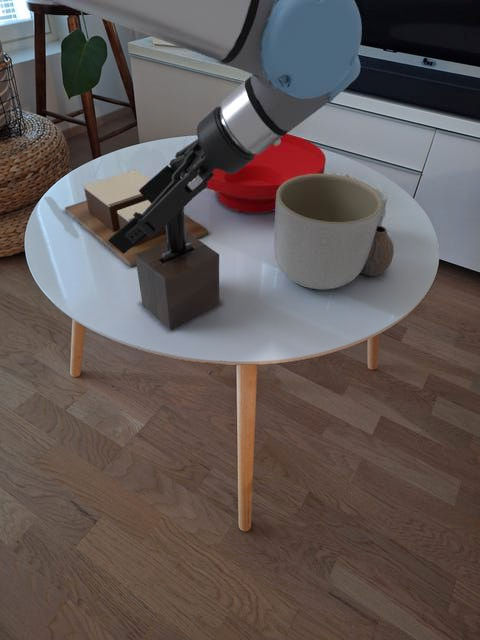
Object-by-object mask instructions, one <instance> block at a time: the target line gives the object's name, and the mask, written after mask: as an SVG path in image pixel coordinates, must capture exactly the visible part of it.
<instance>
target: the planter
mask: <svg viewBox="0 0 480 640" xmlns="http://www.w3.org/2000/svg"><path fill="white" fill-rule="evenodd" d="M373 188H374V187H372V186H371V185H369V184H368V183H365V182H363V181H361V180H358V179H356V178H353V177H350V176H349V177H345V176H343V175H340V174H333V173H324V174H308V175H302V176H298V177H294V178H292V179H289V180H287V181H286V182H284V183H283V184H282V185H281V186H280V187H279V188H278V190H277V193H276V206H275V210H274V227H273V229H274V231H273V232H274V233H273V246H274V256H275V259H276V263H277V266H278V267H279V269H280V270H281V272H282V273H283V274H284V275H285V276H286V277H287V278H288V279H290V280H291V281H292V282H293V283H296V284H297V285H299V286H301V287H304V288H307V289H312V290H320V291H321V290H322V291H323V290H334V289H337V288H341V287H343V286H345V285H347V284H349V283H351V282H352V281H354V280H355V279H356V278H357V277H358V276H359V275H360V274H361V271H362V269H363V267H364V265H365V263H366V261H367V259H368V256H369V253H370V250H371V247H372V243H373V240H374V236H375V233H376V229H377V226H378V222H379V219H380V215H381V211H382V206H383V201H382V198H381V196H380V195H379V193H378V192H377V191H376V190H375V189H373Z"/></svg>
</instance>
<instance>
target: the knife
mask: <svg viewBox="0 0 480 640" xmlns="http://www.w3.org/2000/svg"><path fill="white" fill-rule="evenodd" d="M184 215H185V207H184V208H183V209H182V210H181V211H180V212H179V213H178V214H177V215H176V216H175V217H174V218H173V219H172V220H171V221H170V222H169V223H168V224H166V225H165V227H166V238H167V249H168V251H169V252H166V253H164V254H162V255H163V263H166V262H168V261H170V260H172V259H175V258H177V257H179V256H181V255H184V254H186V253H188V252H190V251H191V243H187V244H186V236H185V219H184Z"/></svg>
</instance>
